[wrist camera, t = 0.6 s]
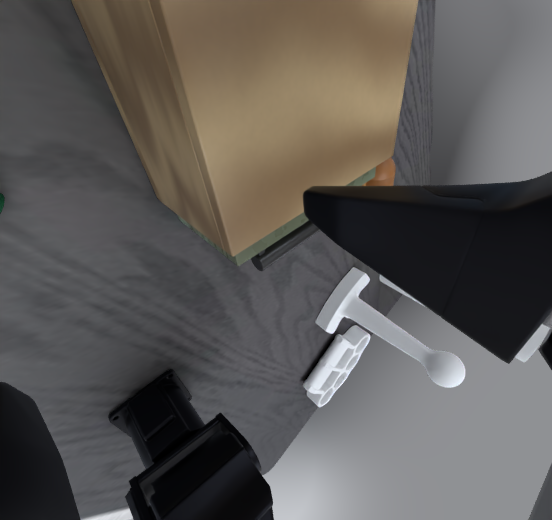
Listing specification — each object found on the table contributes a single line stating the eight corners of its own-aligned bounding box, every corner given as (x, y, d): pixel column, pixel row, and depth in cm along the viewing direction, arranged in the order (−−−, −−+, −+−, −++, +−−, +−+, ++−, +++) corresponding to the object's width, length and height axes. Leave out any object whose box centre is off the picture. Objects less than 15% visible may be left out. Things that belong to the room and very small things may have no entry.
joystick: (352, 264, 47) (489, 341, 35) (363, 278, 53) (484, 348, 41) (312, 321, 47) (436, 419, 35) (328, 329, 53) (439, 414, 41)
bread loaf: (361, 194, 39) (397, 207, 36) (336, 210, 37) (372, 226, 34) (366, 139, 34) (408, 149, 31) (338, 155, 32) (380, 167, 29)
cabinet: (303, 132, 27) (393, 155, 22) (157, 199, 21) (232, 257, 15) (289, -186, 16) (468, -302, 10) (-40, -252, 9) (-23, -642, 4)
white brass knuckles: (343, 317, 55) (363, 329, 67) (289, 396, 55) (318, 394, 67) (358, 327, 53) (376, 338, 65) (302, 410, 53) (329, 405, 65)
